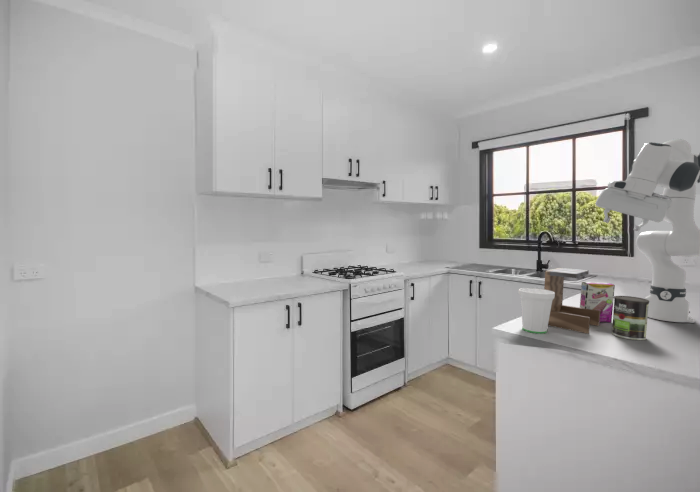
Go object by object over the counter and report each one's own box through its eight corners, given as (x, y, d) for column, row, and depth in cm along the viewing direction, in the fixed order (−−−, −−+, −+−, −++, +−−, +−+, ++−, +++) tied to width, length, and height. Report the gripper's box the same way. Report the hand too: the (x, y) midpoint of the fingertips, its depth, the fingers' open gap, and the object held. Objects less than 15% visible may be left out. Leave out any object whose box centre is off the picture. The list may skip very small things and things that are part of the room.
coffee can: (635, 341, 128) (638, 302, 127) (605, 333, 137) (607, 296, 136) (652, 338, 132) (655, 300, 131) (622, 330, 141) (624, 294, 140)
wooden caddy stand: (557, 317, 160) (559, 267, 159) (599, 325, 149) (602, 271, 147) (542, 324, 148) (545, 270, 146) (587, 333, 136) (591, 275, 135)
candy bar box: (584, 321, 154) (587, 283, 153) (578, 318, 159) (580, 281, 158) (612, 322, 152) (615, 284, 151) (605, 319, 157) (608, 282, 156)
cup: (548, 327, 143) (551, 289, 142) (556, 336, 132) (558, 295, 131) (514, 324, 147) (516, 287, 146) (518, 333, 135) (520, 292, 134)
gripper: (671, 197, 125) (652, 235, 128) (604, 181, 134) (588, 217, 137) (677, 197, 120) (657, 236, 123) (606, 180, 128) (590, 217, 131)
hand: (620, 226), depth 130 cm, fingers open, 8 cm apart
